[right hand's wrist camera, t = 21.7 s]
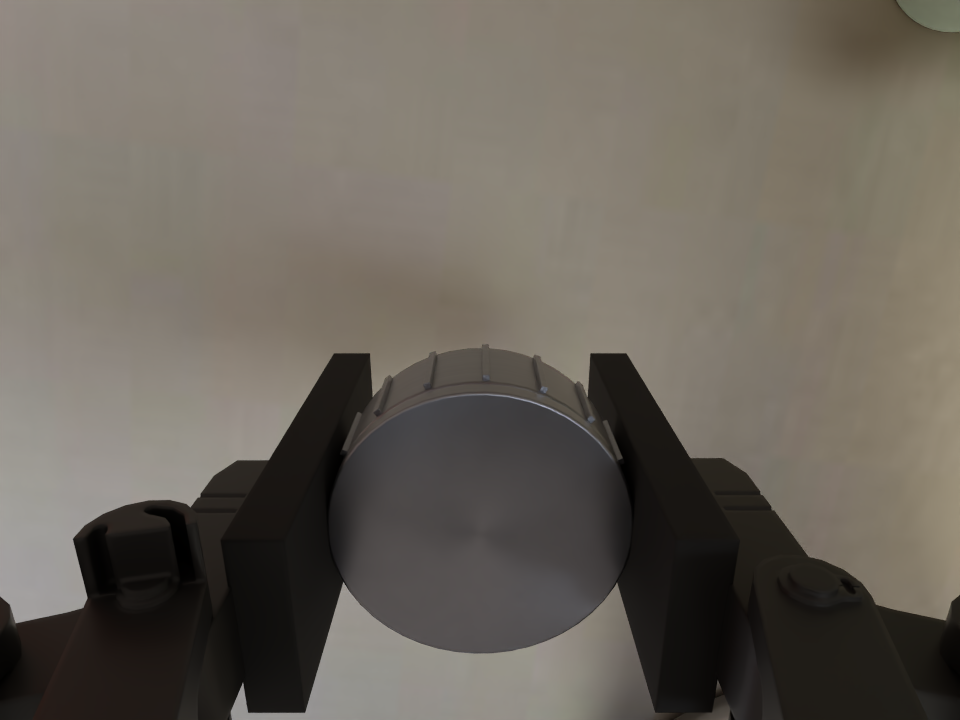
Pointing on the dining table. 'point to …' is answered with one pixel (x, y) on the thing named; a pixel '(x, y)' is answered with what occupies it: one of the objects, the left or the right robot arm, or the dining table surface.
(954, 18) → the pale green bottle
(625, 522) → the lid
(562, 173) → the dining table surface
